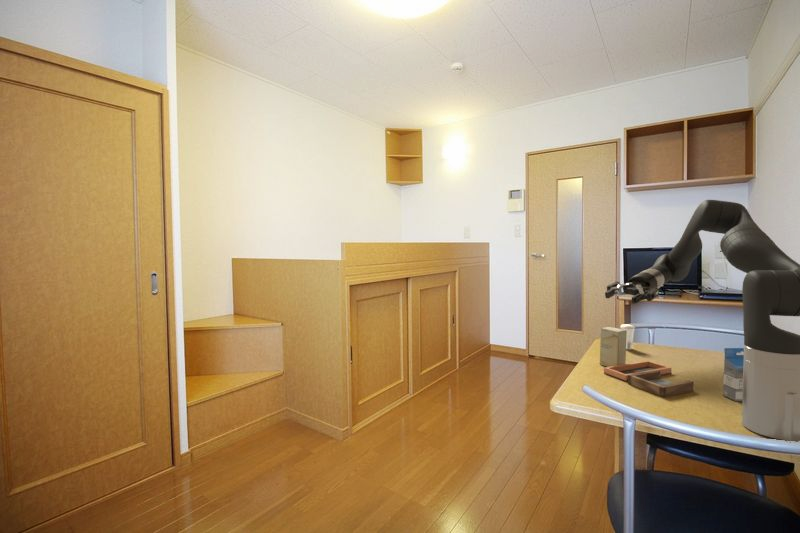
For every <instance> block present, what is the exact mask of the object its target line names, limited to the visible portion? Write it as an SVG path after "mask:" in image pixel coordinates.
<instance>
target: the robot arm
mask: <svg viewBox="0 0 800 533" xmlns="http://www.w3.org/2000/svg"><path fill="white" fill-rule="evenodd" d="M701 231H703V232H709V233H716V234H723V236H722V238H721V239H720V246H719V247H720V250H721V252H722V254H723V256H724V257H725V259H726V260H727V262H729V264H730V265H731V266H733V267H734V268H735V269H737V270H738V271H741V272H743V273H746V275H745V276H744V278H743V281H742V289H741V290H742V311H743V315H742V316H743V324H742V325H743V348H744V352H743V355H744V363H743V401H741V402H742V404H741V405H742V408H741V409H742V410H741V424H742V426H743V427H745V428H746V429H748V430H749V431H752V432H753V433H756V434H758V435H761V436H764V437H768V438H771V439H772V438H773V439H777V440H782V441H785V440H788V441H797V442H799V441H800V334H797V333H794V332H792V331H788V330H784V329H782V328H780V327H777V326H775V325H774V324H773V323H772V321H771V316H776V317H778V316H779V317H800V263H798V262H797V261H796V260H794V259H792V258H791V257H790V256H789V255H787V254H786V253H785V252H784V251H783V250H782V249H781V248H780V247H779V246H778V245H776V242H774V241H773V240H772V238H770V236H768V235H767V234H766V233H765V231H763V230H762V229H761V228H760V227H759V226H758V224H757V223H756V222H755V221H754V219H753V218H752V216H751V214H750V212H749V211H748V209H747V208H746V207H745V205H743V204H741V203H738V202H736V201H735V202H734V201H726V200H719V199H706V200H702V202H701V203H700V204H699V205H697V207H696V209H695V210H694V212H693V214H692V215H691V218H690V219H689V222H688V223H687V225H686V228H685V230H684V231H683V233H682V235H681V237H680V239H679V241H678V242H677V243H676V244H675V245H674V246H673V248H672V249H671V251H669V253H664V254H662V255H660V256H659V257H658V258H657V259H656V260H655V262H654V264H653V265H652V266H651V267H649V268H648V269H645V270H642V271H641V272H639V273H637V274H635V275H633V276H632V277H630V279H629V280H628V281H627V282H626V283H623V284H622V283H620V281H617V280H616V281H614V282H613V283H611V284H608V285H606V291H605V292H604V296H605V299H610V298H612V297H613V296H617V295H619V296H625V295H626V296H627V295H631V296H632V297H631V305H633V304H634V305H635V304H638V303H640V302H641V301H642V302H643V301H645V300H646V301H648V302H652V301H653V300H655V299H656V298H657V297H658V296H659V289H660V288H661V287H662V286H664V285H666V284H667V283H668V282H669V281H670V282H681V281H683V280H684V279H685V278H686V277H687V276H688V275H689V273H690V270H691V266H692V263H693V262H694V260H695V259H696V258H698V257H699V255H700V254H701V252H702V250H703V242H702V238H701V236H700V232H701ZM788 441H787V442H788Z"/></svg>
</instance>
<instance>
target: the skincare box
mask: <svg viewBox="0 0 800 533" xmlns="http://www.w3.org/2000/svg"><path fill="white" fill-rule="evenodd" d="M626 337H627V330H623V329H620V328H618V327H614V326H613V327H612V326H605V327H601V328H600V344H599V345H600V347H599V350H600V351H599V364H600V365H601V366H604V367H611V366H617V365H623V364H627V362H626V361H627V360H626V358H627V350H626Z"/></svg>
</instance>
